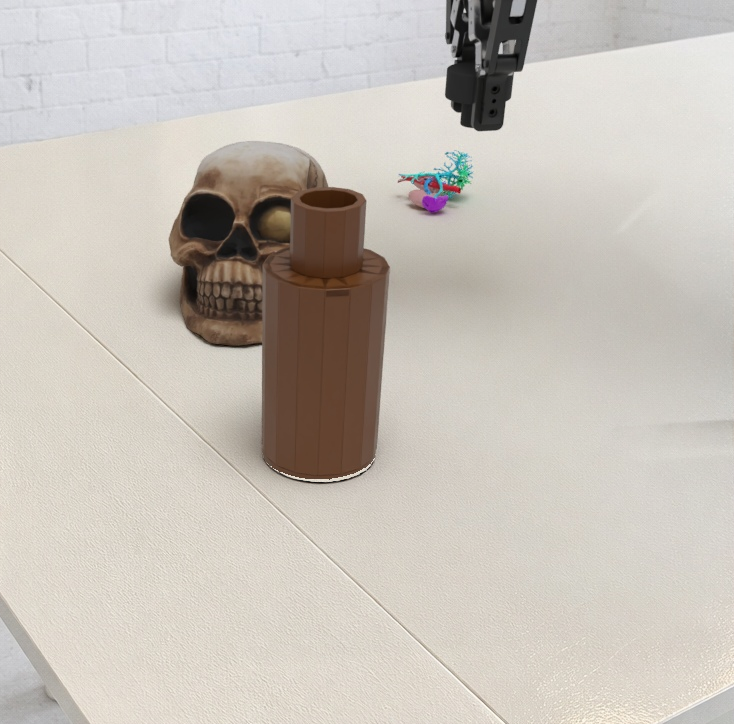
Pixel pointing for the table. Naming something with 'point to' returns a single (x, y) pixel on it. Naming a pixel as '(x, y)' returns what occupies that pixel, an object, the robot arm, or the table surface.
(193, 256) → the brown skull
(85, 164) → the table surface
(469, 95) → the bung
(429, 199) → the anatomy model
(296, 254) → the bottle
